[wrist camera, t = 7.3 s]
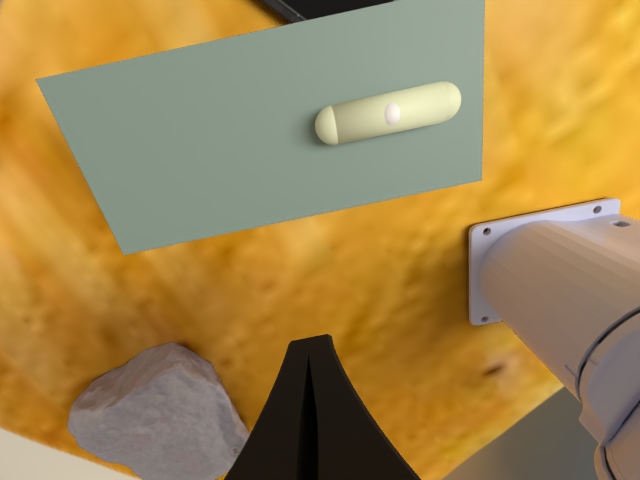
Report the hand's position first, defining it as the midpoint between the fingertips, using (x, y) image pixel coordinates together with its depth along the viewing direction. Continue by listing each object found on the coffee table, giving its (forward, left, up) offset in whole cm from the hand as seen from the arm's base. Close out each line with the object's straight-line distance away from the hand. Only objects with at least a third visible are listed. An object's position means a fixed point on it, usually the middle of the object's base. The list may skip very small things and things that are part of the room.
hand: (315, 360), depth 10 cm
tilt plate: (0, -7, -6) cm, 9 cm away
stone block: (+13, +12, -11) cm, 21 cm away
